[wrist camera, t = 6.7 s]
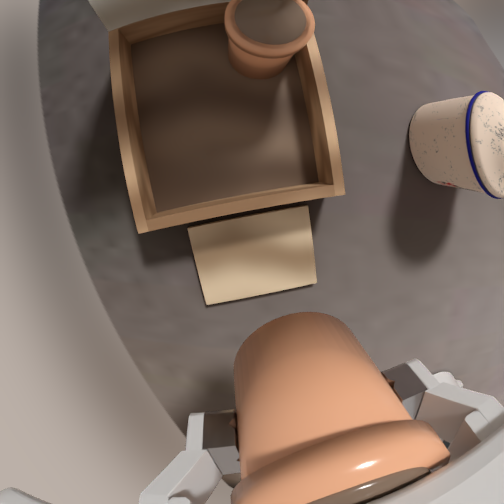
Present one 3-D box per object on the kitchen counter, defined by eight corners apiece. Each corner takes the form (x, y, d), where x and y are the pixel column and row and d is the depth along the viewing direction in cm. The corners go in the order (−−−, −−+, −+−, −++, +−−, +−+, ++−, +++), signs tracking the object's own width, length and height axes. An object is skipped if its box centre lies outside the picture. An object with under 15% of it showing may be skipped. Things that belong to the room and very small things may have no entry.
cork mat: (314, 280, 26) (316, 282, 25) (206, 302, 25) (206, 305, 25) (306, 204, 23) (308, 205, 23) (188, 227, 23) (187, 228, 22)
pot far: (298, 79, 20) (324, 51, 13) (229, 87, 19) (232, 56, 13) (284, 25, 18) (304, -14, 12) (219, 31, 18) (218, -10, 11)
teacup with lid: (425, 201, 24) (513, 227, 13) (390, 118, 22) (482, 103, 11) (483, 156, 23) (557, 166, 12) (456, 85, 21) (532, 73, 10)
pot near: (359, 393, 11) (418, 504, 5) (241, 421, 11) (255, 552, 5) (364, 288, 10) (485, 414, 3) (209, 321, 9) (200, 509, 3)
